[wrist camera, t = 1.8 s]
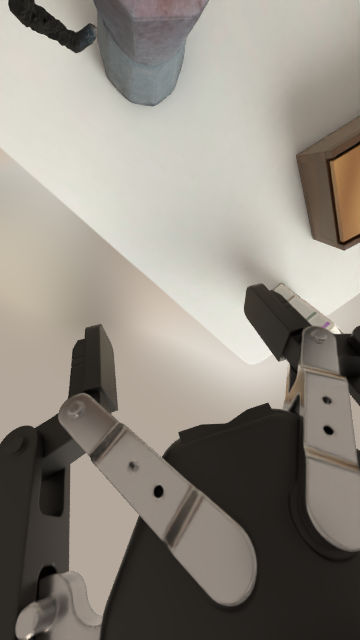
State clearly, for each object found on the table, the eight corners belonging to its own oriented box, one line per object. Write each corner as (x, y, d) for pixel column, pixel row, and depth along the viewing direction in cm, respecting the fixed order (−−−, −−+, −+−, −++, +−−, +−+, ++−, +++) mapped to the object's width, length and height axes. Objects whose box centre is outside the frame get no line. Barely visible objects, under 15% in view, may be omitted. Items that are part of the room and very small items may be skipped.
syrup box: (257, 303, 43) (299, 352, 31) (281, 281, 41) (337, 324, 29) (273, 318, 46) (318, 370, 34) (297, 298, 44) (354, 345, 32)
